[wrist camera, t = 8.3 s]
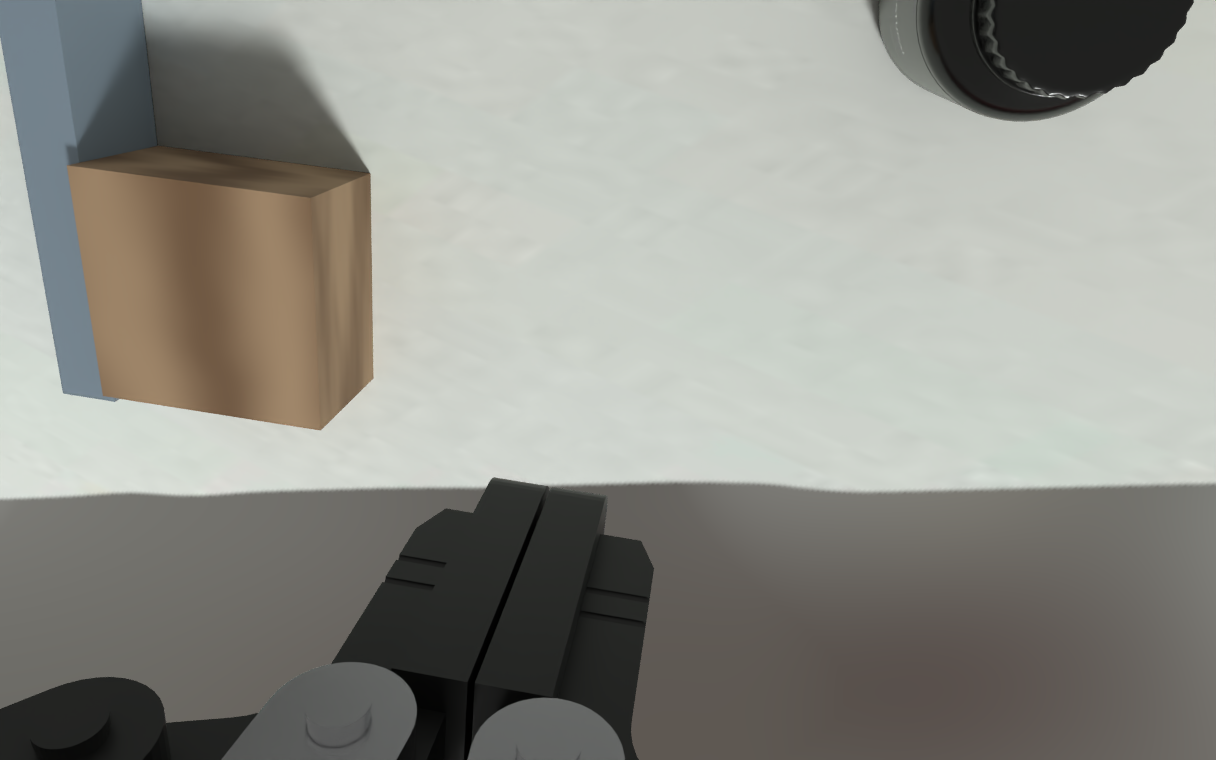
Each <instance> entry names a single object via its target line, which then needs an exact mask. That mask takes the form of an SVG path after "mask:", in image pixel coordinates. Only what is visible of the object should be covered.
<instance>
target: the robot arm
mask: <svg viewBox="0 0 1216 760" xmlns="http://www.w3.org/2000/svg"><path fill="white" fill-rule="evenodd" d="M606 512H607V496H606V495H600V494H593V493H587V492H581V491H575V490H569V489H563V488H557V487H552V488H551V490H550V491H549V487H548V486H543V485H537V484H531V483H525V482H519V481H513V480H506V479H500V478H492V479H491V481H490V482H489V484H488V486H487V488H486V490H485V492H484V494H483V495H482V497H481V499H480V501H479V503H478V505H477V507H476V509H475V511H474V513H469V512H463V511H457V510H451V509H444V510H443V511H442V512H440V513H438V514H437V515H435V516H434V517H432V518H431V519H429V520H428V521H426V522H425V523H424V524H422V525H420V526H419V527H417V528H416V529H415V531H414V532H413V534H412V536H411V537H410V539H409V540H408V542H407V544H406V545H405V547H404V548H403V550H402V552H401V553H400V556H399V560H396V561H395V563H394V564H393V566H392V568H391V569H390V571H389V572H388V574H387V576H386V580H385V582H382V584H381V585H380V587H379V588H378V590H377V592H376V593H375V595H374V597H373V598H372V600H371V601H370V603H369V604H368V606H367V608H366V609H365V611H364V613H363V614H362V616H361V617H360V619H359V620H358V622H357V624H356V625H355V627H354V628H353V630H352V632H351V633H350V635H349V636H348V638H347V640H346V641H345V643H344V644H343V646H342V648H341V649H340V651H339V653H338V654H337V656H336V657H335V659H334V660H333V662H332V664H329V665H324V666H321V667H318V668H314V669H311V670H309V671H307V672H305V673H302V674H300V675H298V676H297V677H295V678H293V679H292V680H290V681H289V682H287V683H286V684H285V685H283V686H282V687H281V688H280V689H279V690H277V691H276V693H275V694H274V695H273V696H272V697H271V698H270V699H269V700H268V702H267V703H266V704H265V705H264V706H263V708H262V709H261V710H260V712H259V713H256V714H252V715H247V716H241V717H234V718H223V719H209V720H196V721H184V722H172V723H166V720H165V713H164V707H163V704H162V702H161V700H160V698H159V697H158V696H157V694H156V693H155V692H154V691H153V690H152V689H150V688H149V687H147V686H146V685H144V684H141V683H139V682H137V681H133V680H129V679H125V678H115V677H100V678H91V679H85V680H79V681H75V682H71V683H67V684H64V685H61V686H58V687H55V688H52V689H49V690H47V691H45V692H42V693H39V694H37V695H35V696H32V697H29V698H27V699H25V700H22V701H19V702H17V703H14V704H12V705H9V706H7V707H4V708H2V709H0V760H639V759H638V758H637V756H636V753H635V750H634V747H633V744H632V737H631V722H632V715H633V708H634V701H635V694H636V687H637V680H638V674H639V667H640V660H641V653H642V646H643V639H644V633H645V626H646V619H647V612H648V605H649V598H650V592H651V584H652V578H653V571H654V568H653V566H652V563H651V561H650V559H649V557H648V555H647V553H646V550H645V548H644V547H643V544H642V542H641V541H638V540H632V539H626V538H620V537H614V536H608V535H604V528H605V520H606Z"/></svg>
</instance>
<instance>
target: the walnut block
mask: <svg viewBox="0 0 1216 760" xmlns="http://www.w3.org/2000/svg"><path fill="white" fill-rule="evenodd" d="M67 170H68V177H69V183H70V189H71V196H72V202H73V209H74V215H75V221H76V228H77V234H78V240H79V247H80V253H81V260H82V266H83V272H84V279H85V285H86V292H87V298H88V304H89V311H90V317H91V324H92V330H93V336H94V343H95V349H96V355H97V362H98V368H99V375H100V381H101V387H102V394H103V396H106V397H113V398H119V399H125V400H132V401H138V402H144V403H151V404H157V405H163V406H170V407H176V408H182V409H189V410H195V411H201V412H208V413H214V414H220V415H226V416H233V417H239V418H245V419H252V420H258V421H264V422H271V423H277V424H283V425H290V426H296V427H302V428H309V429H315V430H321V429H322V428H323V427H325V426H326V425H327V424H328V423H329V422H330V421H331V420H332V419H333V418H334V417H335V416H336V415H337V414H338V413H339V412H340V411H341V410H342V409H343V408H344V407H345V406H346V405H347V404H348V403H349V402H350V401H351V400H352V399H353V398H354V397H355V396H356V395H357V394H358V393H359V392H360V391H361V390H362V389H363V388H364V387H365V386H366V385H367V384H368V383H369V382H370V381H371V380H372V379H373V322H372V253H371V184H370V173H365V172H357V171H349V170H342V169H334V168H326V167H318V166H311V165H303V164H295V163H288V162H280V161H272V160H265V159H257V158H249V157H242V156H234V155H226V154H219V153H211V152H203V151H195V150H188V149H180V148H172V147H165V146H155V147H150V148H145V149H141V150H136V151H131V152H127V153H122V154H117V155H113V156H108V157H103V158H99V159H94V160H89V161H85V162H80V163H76V164H71V165H67Z"/></svg>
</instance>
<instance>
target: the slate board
mask: <svg viewBox="0 0 1216 760" xmlns="http://www.w3.org/2000/svg"><path fill="white" fill-rule="evenodd" d="M0 38H1V44H2V49H3V55H4V61H5V66H6V72H7V78H8V83H9V89H10V95H11V100H12V106H13V112H14V117H15V123H16V129H17V134H18V140H19V146H20V151H21V157H22V163H23V168H24V174H25V180H26V185H27V191H28V197H29V202H30V208H31V214H32V219H33V225H34V231H35V236H36V242H37V248H38V253H39V259H40V265H41V270H42V276H43V282H44V287H45V293H46V299H47V305H48V310H49V316H50V322H51V327H52V333H53V339H54V344H55V350H56V356H57V361H58V367H59V373H60V378H61V384H62V390H63V393H64V394H70V395H77V396H83V397H89V398H95V399H101V400H108V401H114V402H115V401H117V400H118V399H119V398H113V397H106V396H103V394H102V387H101V381H100V375H99V368H98V362H97V355H96V349H95V343H94V336H93V330H92V324H91V317H90V311H89V304H88V298H87V292H86V285H85V279H84V272H83V266H82V260H81V253H80V247H79V240H78V234H77V228H76V221H75V215H74V209H73V202H72V196H71V189H70V183H69V177H68V170H67V165H71V164H76V163H80V162H85V161H89V160H94V159H99V158H103V157H108V156H113V155H117V154H122V153H127V152H131V151H136V150H141V149H145V148H150V147H155V146H157V138H156V129H155V120H154V111H153V102H152V93H151V84H150V75H149V67H148V58H147V49H146V40H145V31H144V22H143V13H142V4H141V0H0Z"/></svg>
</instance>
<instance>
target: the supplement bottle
mask: <svg viewBox="0 0 1216 760" xmlns="http://www.w3.org/2000/svg"><path fill="white" fill-rule="evenodd" d="M1193 3H1194V0H879V26H880V32H881V36H882V40H883V43H884V45H885V48H886V50H887V52H888V54H889V56H890V58H891V59H892V61H893V62H894V64H895V65H896V67H897V68H898V69H899V70H900V71H901V72H902V73H903V74H904V75H905V76H906V77H907V78H908V79H909V80H911V81H912V82H913V83H915V84H916V85H918V86H920V87H921V88H923V89H925V90H927V91H929V92H931V93H933V94H935V95H938V96H940V97H942V98H944V99H946V100H949V101H951V102H953V103H955V104H957V105H960V106H962V107H964V108H966V109H969V110H971V111H973V112H975V113H978V114H981V115H984V116H987V117H991V118H995V119H1000V120H1006V121H1037V120H1043V119H1049V118H1053V117H1056V116H1060V115H1063V114H1066V113H1068V112H1071V111H1074V110H1076V109H1078V108H1080V107H1083V106H1085V105H1087V104H1088V103H1090V102H1092V101H1094V100H1095V99H1097V98H1099V97H1100V96H1102V95H1103V94H1106V93H1107V92H1109V91H1110V90H1111V89H1113V88H1114V87H1119V86H1124V85H1126V84H1127V83H1128V82H1129V81H1130V80H1131V79H1132V78H1133V77H1136V76H1139V75H1142V74H1144V72H1145V71H1146V70H1147V69H1148V67H1149V66H1150V65H1151V64H1153V63H1155V62H1156V61H1158V60H1160V58H1161V57H1162V55H1163V52H1164V51H1165V49H1166V48H1168V47H1169V46H1170V45H1172V44H1173V43H1174V41H1175V39H1176V35H1177V32H1178V31H1179V30H1180V29H1181V28H1182V27H1183V26H1184V24H1185V23H1186V18H1187V17H1186V15H1187V12H1188V11H1189V9H1190V8H1191V6H1192V5H1193Z"/></svg>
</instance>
